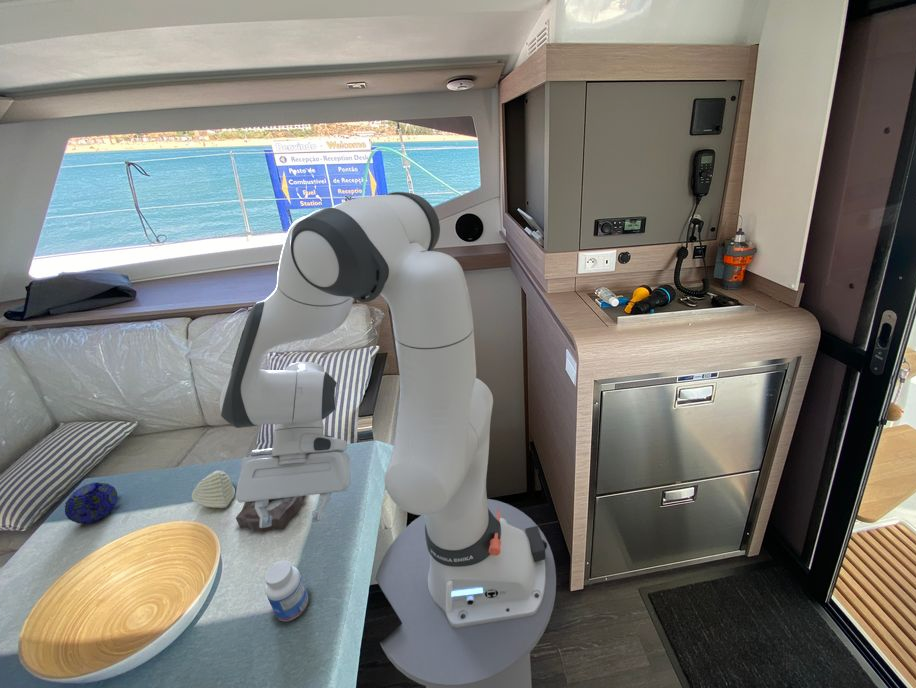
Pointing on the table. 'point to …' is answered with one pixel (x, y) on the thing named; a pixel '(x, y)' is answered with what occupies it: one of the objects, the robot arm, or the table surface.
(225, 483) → the seashell
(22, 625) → the table surface
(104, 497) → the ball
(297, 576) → the pill bottle
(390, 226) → the robot arm
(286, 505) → the brown candle holder
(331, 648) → the table surface
